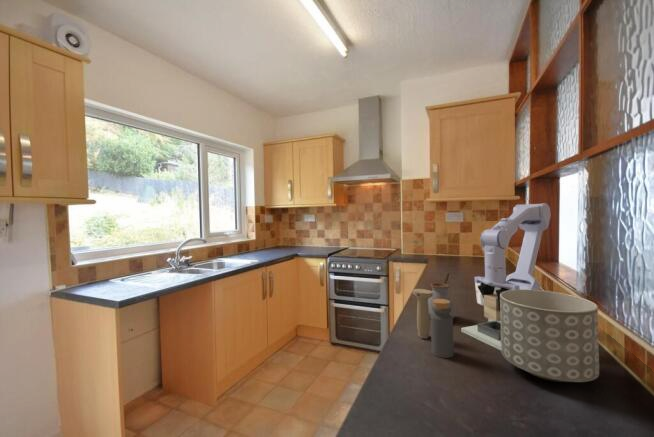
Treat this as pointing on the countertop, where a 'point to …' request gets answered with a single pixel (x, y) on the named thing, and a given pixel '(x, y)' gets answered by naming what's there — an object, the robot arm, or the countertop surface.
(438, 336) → the bottle
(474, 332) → the mounting board
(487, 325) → the grey square frame
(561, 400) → the countertop surface
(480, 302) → the cup
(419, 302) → the handle
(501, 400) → the countertop surface
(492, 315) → the oak post
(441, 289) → the coffee pot
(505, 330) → the planter
